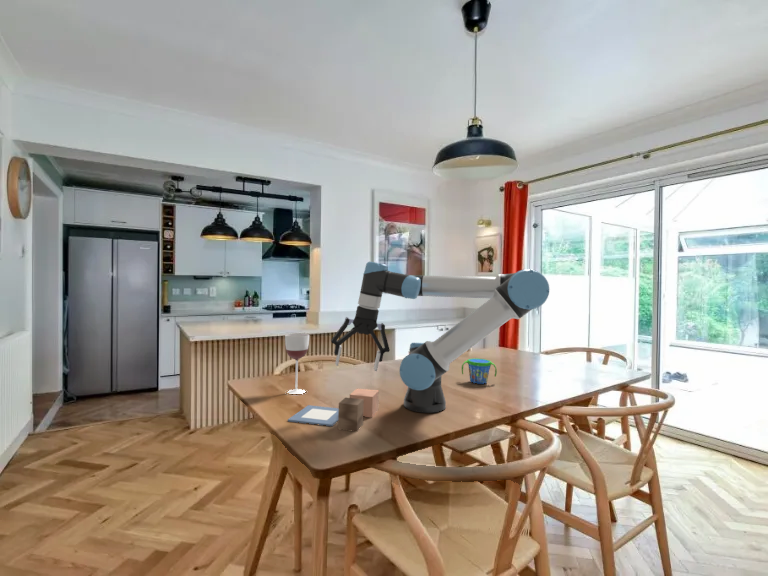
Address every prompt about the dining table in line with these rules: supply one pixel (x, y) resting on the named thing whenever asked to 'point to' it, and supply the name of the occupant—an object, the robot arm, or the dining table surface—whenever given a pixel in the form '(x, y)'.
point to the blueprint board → (316, 415)
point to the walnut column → (350, 414)
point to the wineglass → (296, 353)
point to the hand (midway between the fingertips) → (356, 367)
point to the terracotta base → (367, 400)
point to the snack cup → (479, 370)
